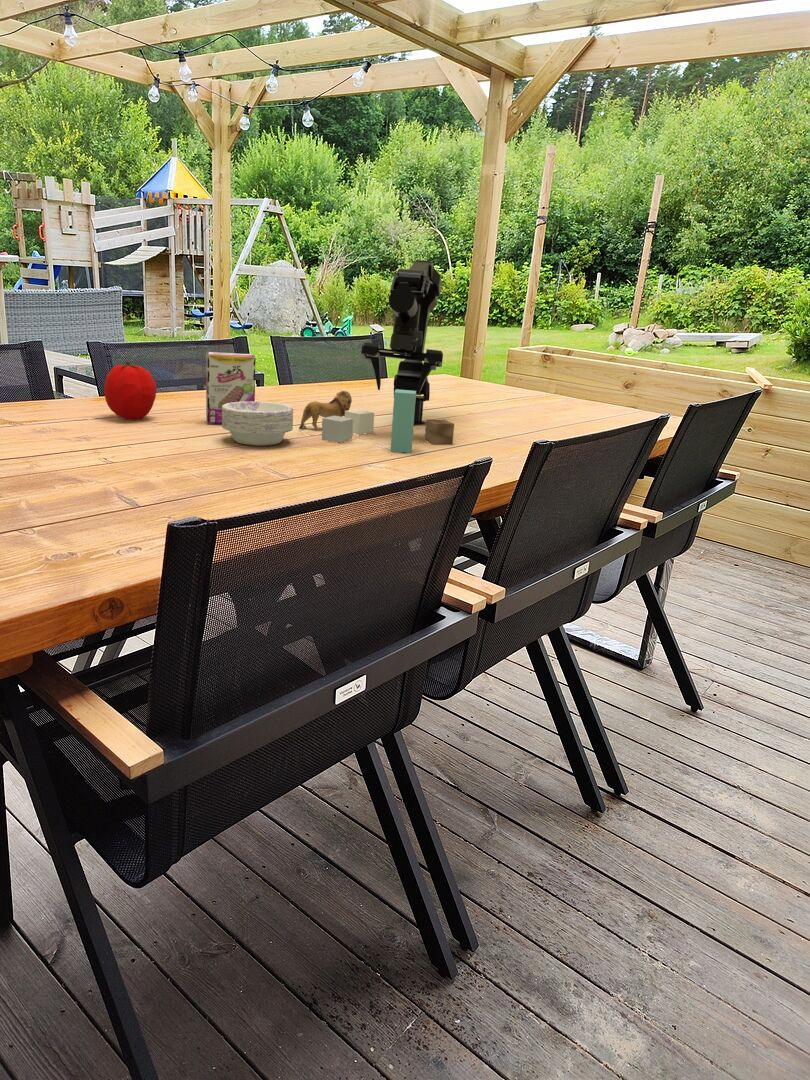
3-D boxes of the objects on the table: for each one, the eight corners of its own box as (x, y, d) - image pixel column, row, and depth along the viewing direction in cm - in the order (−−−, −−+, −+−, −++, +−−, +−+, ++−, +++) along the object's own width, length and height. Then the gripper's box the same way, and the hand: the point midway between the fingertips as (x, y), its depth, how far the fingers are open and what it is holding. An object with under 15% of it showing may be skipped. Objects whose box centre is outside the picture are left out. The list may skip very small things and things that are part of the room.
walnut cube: (443, 440, 185) (445, 419, 183) (452, 444, 180) (454, 423, 179) (424, 440, 183) (426, 419, 181) (433, 445, 178) (434, 423, 177)
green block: (391, 447, 172) (395, 389, 168) (411, 449, 172) (416, 390, 168) (390, 451, 168) (394, 392, 164) (410, 453, 168) (415, 393, 164)
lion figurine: (342, 424, 193) (344, 388, 190) (355, 428, 190) (357, 392, 187) (293, 428, 184) (293, 391, 181) (305, 433, 180) (306, 394, 177)
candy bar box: (207, 425, 181) (206, 354, 175) (206, 420, 185) (205, 351, 180) (255, 425, 184) (256, 355, 179) (252, 421, 189) (253, 353, 183)
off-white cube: (358, 429, 190) (359, 409, 188) (373, 433, 186) (374, 412, 185) (343, 431, 186) (344, 410, 184) (358, 435, 183) (359, 414, 181)
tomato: (102, 423, 174) (98, 364, 170) (108, 413, 185) (105, 357, 181) (156, 424, 177) (153, 366, 173) (159, 414, 188) (157, 359, 184)
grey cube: (333, 436, 179) (334, 415, 177) (351, 440, 177) (352, 418, 175) (321, 440, 175) (322, 418, 173) (340, 443, 173) (341, 421, 171)
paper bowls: (250, 431, 178) (250, 397, 175) (305, 441, 172) (306, 406, 169) (207, 441, 165) (206, 404, 162) (265, 453, 159) (265, 415, 156)
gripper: (363, 311, 170) (355, 381, 171) (446, 320, 170) (438, 390, 170) (367, 323, 181) (359, 389, 182) (445, 332, 181) (438, 398, 181)
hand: (398, 392), depth 178 cm, fingers open, 9 cm apart
